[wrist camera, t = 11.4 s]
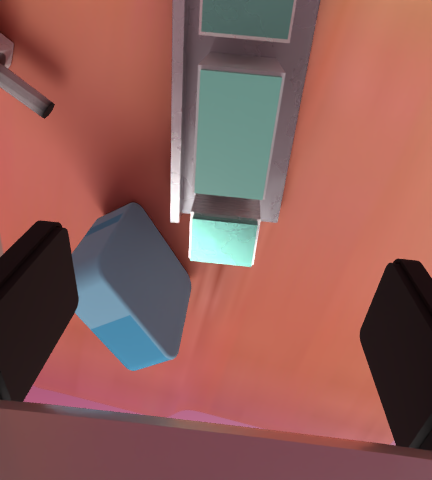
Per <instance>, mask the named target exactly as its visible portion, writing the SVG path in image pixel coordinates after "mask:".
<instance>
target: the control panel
mask: <svg viewBox="0 0 432 480" xmlns="http://www.w3.org/2000/svg"><path fill="white" fill-rule="evenodd" d="M13 47H14V43H13V42H12V41H10V40H9V39H8V38H6V37H5V36H4V35H3V34H1V33H0V87H1V88H2V89H4V90H5V91H6V92H8V93H9V94H11V95H12V96H13V97H15V98H16V99H17V100H19V101H20V102H22V103H23V104H24V105H26V106H27V107H29V108H30V109H31V110H33V111H34V112H36V113H37V114H38V115H40V116H41V117H42V118H44V119H45V118H46V117H47V116H48V115H49V114H50V113H51V111H52V110H53V108H54V105H55V104H54V103H52V102H51V101H50V100H48V99H47V98H46V97H45V96H43V95H42V94H41V93H39V92H38V91H37V90H35V89H34V88H33V87H31V86H30V85H29V84H27V83H26V82H25V81H23V80H22V79H21V78H20V77H18V76H17V75H16V74H14V73H13V72H12V71H10V70H9V69H8V68H9V67H10V65H11V62H12V55H13Z"/></svg>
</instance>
